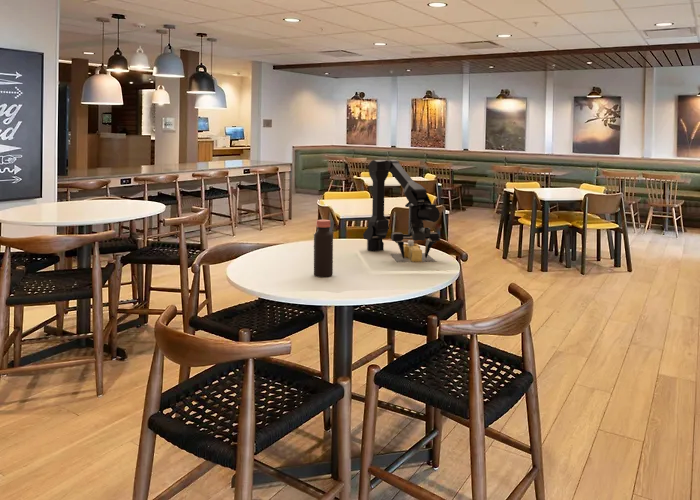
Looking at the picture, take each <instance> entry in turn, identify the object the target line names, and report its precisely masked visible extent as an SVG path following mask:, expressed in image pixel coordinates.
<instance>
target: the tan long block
mask: <svg viewBox="0 0 700 500" xmlns="http://www.w3.org/2000/svg"><path fill="white" fill-rule="evenodd" d="M422 253H423V250H422V249H421V246H420V245H419V244H418V243H414V246H408V243H404V257H407V258H408V259H409V260H410V261H411V262H410V263H423V262H422ZM401 255H402V254H401Z"/></svg>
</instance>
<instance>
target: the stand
mask: <svg viewBox="0 0 700 500" xmlns="http://www.w3.org/2000/svg"><path fill="white" fill-rule="evenodd" d="M414 242H415V240H413V239H407V244H408V246H414V244H415V243H414ZM389 255H390V257H392V259H393V260H394V261H395V262H396V263H412V262H411V261H410V260H409V259H408V258H407V257H404V258H403V257H402V255H401V252H400V253H399V252H398V253H397V252H396V253H395V252H394V253H392V252H391V253H389ZM437 262H438V261H437V260H436V259H434V258H433V257H432V256H431V255H429V254H428V256H427V258H425V252H422V262H421V263H437Z"/></svg>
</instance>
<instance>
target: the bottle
mask: <svg viewBox="0 0 700 500" xmlns="http://www.w3.org/2000/svg"><path fill="white" fill-rule="evenodd" d="M316 228H317V230H316V232H315V233H313V275H314V276H315V277H316V278H317V277H318V278H329V277H332V276H333V275H334V273H333V271H334V269H333V268H334V263H333V262H334V261H333V259H334V256H333V255H334V254H333V253H334V244H333V243H334V235H333V234H334V233H332V232H331V230H330V229H331V220H330V219H317V220H316Z"/></svg>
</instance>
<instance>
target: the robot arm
mask: <svg viewBox="0 0 700 500" xmlns="http://www.w3.org/2000/svg"><path fill="white" fill-rule="evenodd" d="M389 172H390V174H391V175H392V176H393V177H394V178H395V180H396V181H397V182H398V183H399V184H400V186H401V187H402V189H403V194H404V197H405V198H406V199H407V201H408V203H406V204H405V207H406V208H408V221H407V222H408V229H407V233H404V234H403V233H402V232H401V231H396V232H395V231H394V232H391V234H390V240H392V241H393V242H395V243H396V244H397V246H398V247H399V250H400V253H401V254H402V257H403V258H404V244H405V242H404V241H403V240H413V241H414V242H415V241H425V249H424V253H425V258H427V256H428V255H429V253H430V251H431V248H432V246H433V245H434V244H437V242H440V241H441V236H440V234H439V233H438V232H436V231H431V227H424V221H425V222H431V223H436V222H437V221H438V220H439V218H440V217H441V214H440V210H439V209H438V207H437V203H432V202H431V199H430V197H429V195H428V193H427V190H426V188H425V187H423V186H422V185H421V184H420V183H417V182H416V181H414V179H413V178H412V177H411V176H410V175H409V174H408V173H407V171H406V170H405V169H404V168H403V167H402V165H401V164H400V161H399V160H397V159H388V160H386V159H373V160H371V161H370V162H369V163H368V174H369V177H370V179H371V181H372V209H371V211H372V214H371V216H370V218H369V220H368V225H367V229H366V230H365V231H364V232H363V234H362V235H363V239H364V240H366V250H367V252H384V244H385V243H384V242H383V239H386V237H387V234H388V232H389V230H390V225H389V224H390V221H389V219H387V218H386V216H385V184H386V183H385V181H386V180H387V177H388V176H389Z"/></svg>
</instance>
